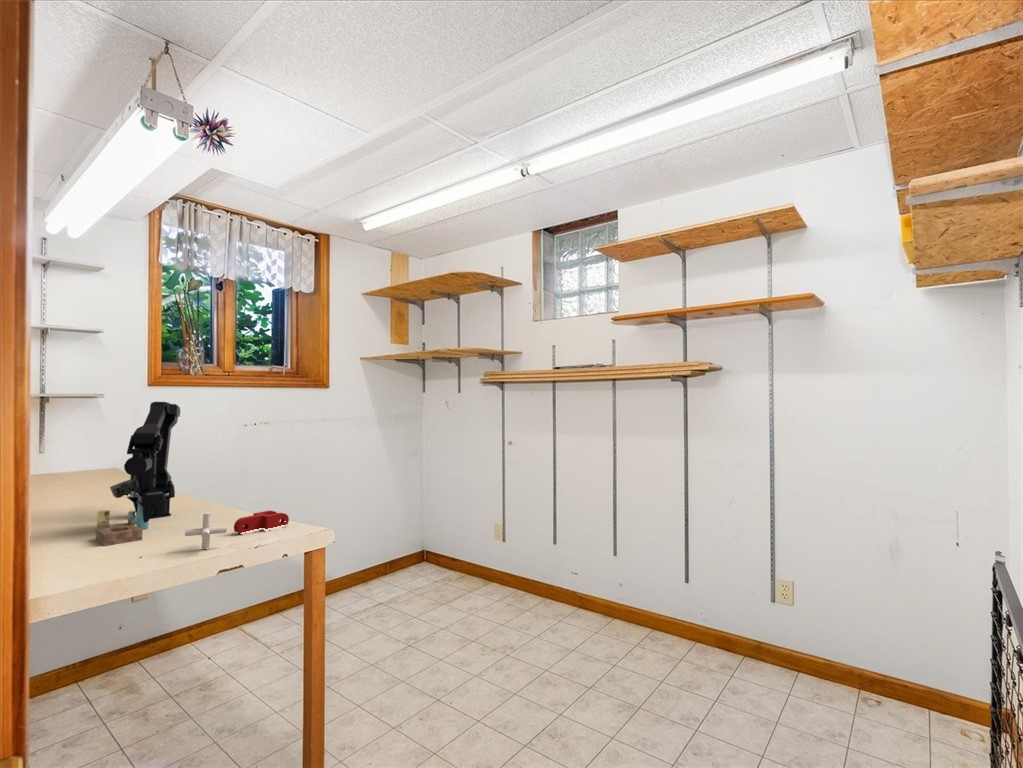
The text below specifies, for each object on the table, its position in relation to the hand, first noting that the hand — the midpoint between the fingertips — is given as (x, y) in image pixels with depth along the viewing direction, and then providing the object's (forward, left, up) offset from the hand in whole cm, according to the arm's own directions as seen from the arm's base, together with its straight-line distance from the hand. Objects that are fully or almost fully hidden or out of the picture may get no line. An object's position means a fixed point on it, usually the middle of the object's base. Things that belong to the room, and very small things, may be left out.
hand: (142, 520), depth 168 cm
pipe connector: (-5, +36, -3) cm, 36 cm away
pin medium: (+9, -5, -2) cm, 11 cm away
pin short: (0, -9, -3) cm, 9 cm away
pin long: (0, 0, -2) cm, 2 cm away
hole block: (+8, +10, -2) cm, 13 cm away
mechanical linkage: (-25, +26, -3) cm, 36 cm away
